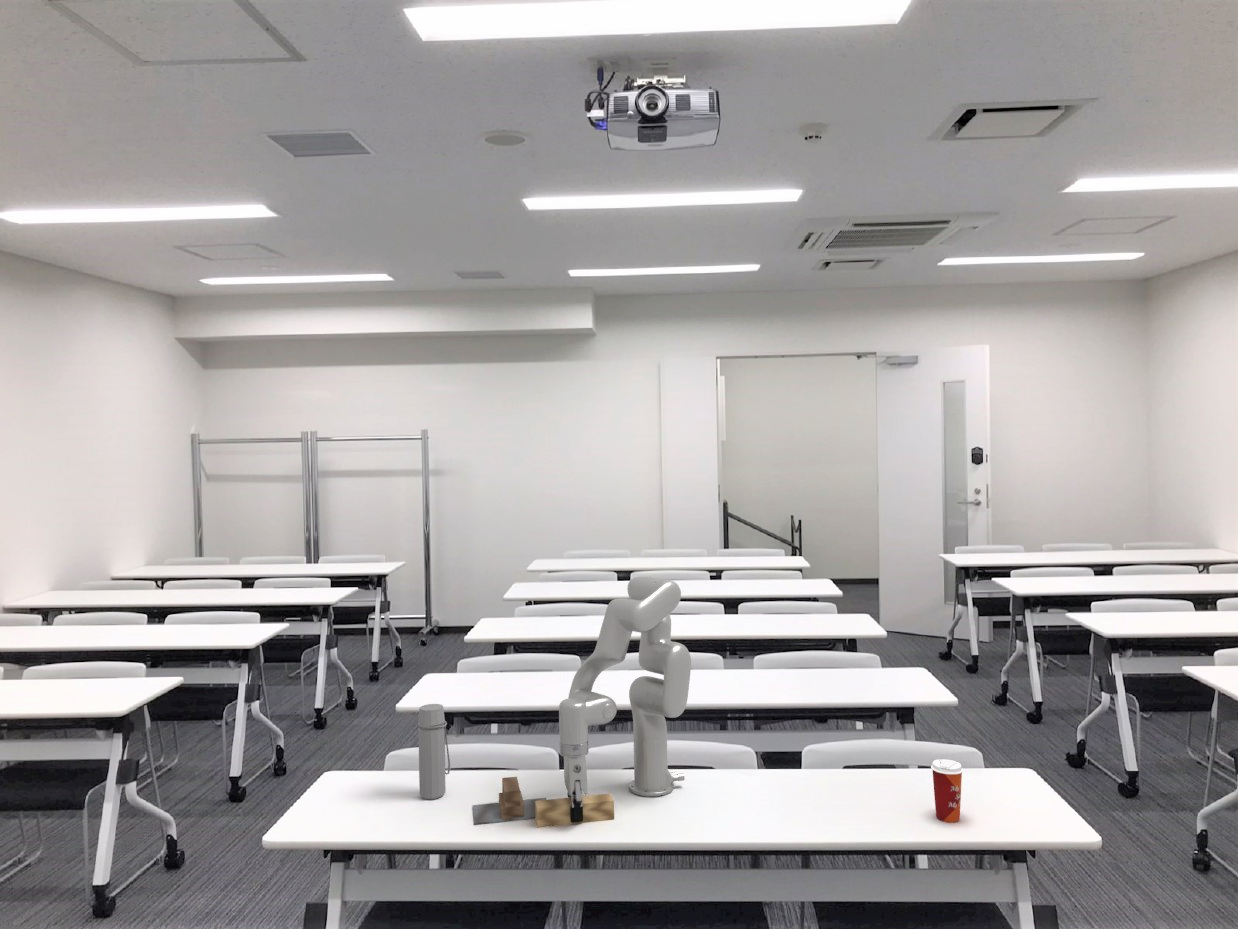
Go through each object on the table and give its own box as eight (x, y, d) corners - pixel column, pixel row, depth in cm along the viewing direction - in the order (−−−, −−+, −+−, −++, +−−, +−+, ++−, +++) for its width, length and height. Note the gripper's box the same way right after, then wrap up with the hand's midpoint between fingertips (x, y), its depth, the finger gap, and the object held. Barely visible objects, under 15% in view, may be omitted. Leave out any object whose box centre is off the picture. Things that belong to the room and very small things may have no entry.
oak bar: (610, 812, 224) (610, 793, 224) (614, 819, 219) (613, 800, 219) (535, 820, 220) (535, 800, 220) (537, 828, 215) (537, 808, 215)
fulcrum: (546, 799, 233) (545, 772, 233) (551, 816, 221) (550, 788, 221) (472, 806, 229) (472, 779, 229) (474, 825, 217) (473, 796, 217)
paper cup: (961, 827, 210) (959, 771, 210) (929, 820, 214) (927, 765, 214) (966, 815, 217) (965, 761, 217) (935, 809, 221) (934, 756, 221)
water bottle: (427, 803, 232) (426, 712, 231) (414, 795, 237) (412, 706, 237) (457, 794, 238) (455, 705, 238) (443, 786, 244) (441, 700, 243)
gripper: (593, 757, 212) (595, 829, 212) (582, 736, 228) (583, 803, 228) (564, 759, 210) (565, 832, 210) (555, 738, 227) (556, 806, 227)
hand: (575, 816), depth 219 cm, fingers closed on oak bar, 5 cm apart
